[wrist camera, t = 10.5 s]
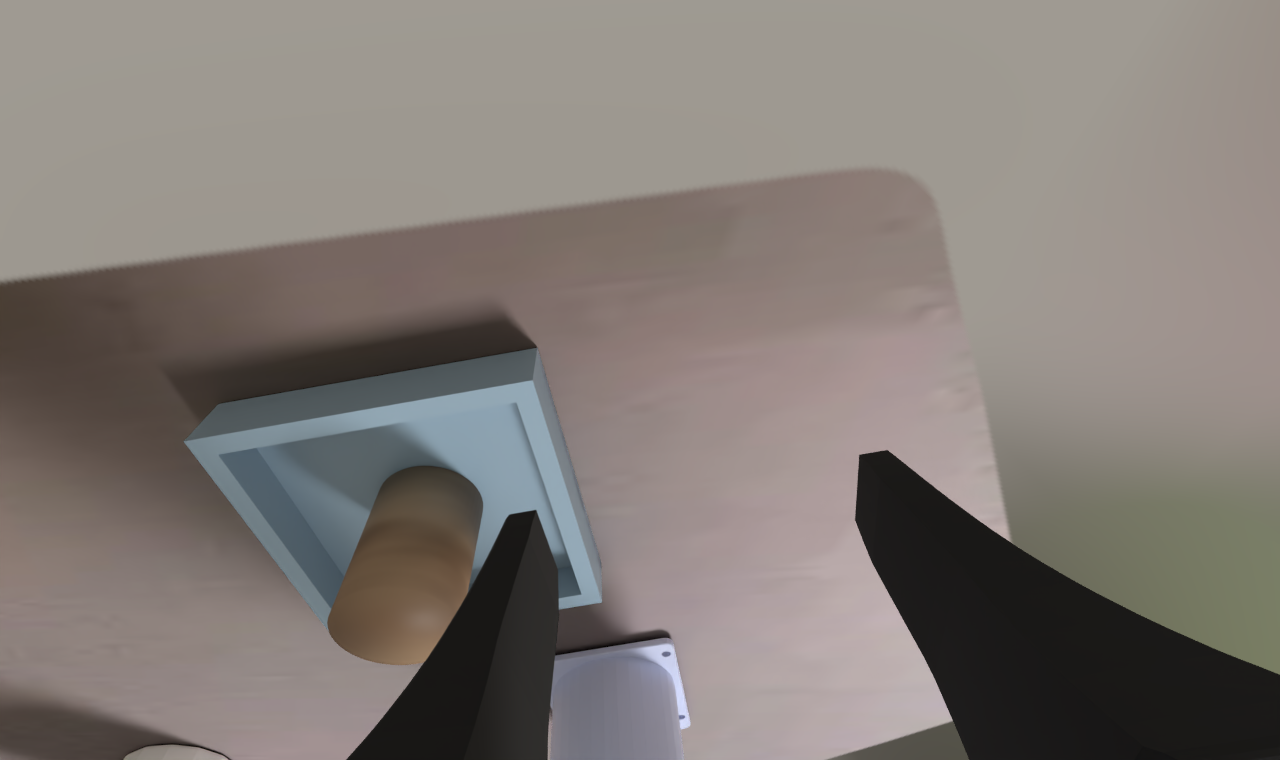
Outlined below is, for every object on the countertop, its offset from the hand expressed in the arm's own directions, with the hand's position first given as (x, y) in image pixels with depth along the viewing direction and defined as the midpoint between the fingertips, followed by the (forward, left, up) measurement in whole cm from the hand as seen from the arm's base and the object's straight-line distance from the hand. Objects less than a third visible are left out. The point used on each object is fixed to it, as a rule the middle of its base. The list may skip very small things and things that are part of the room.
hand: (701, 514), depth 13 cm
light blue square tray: (-7, +11, -10) cm, 17 cm away
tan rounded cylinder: (-7, +11, -10) cm, 16 cm away
